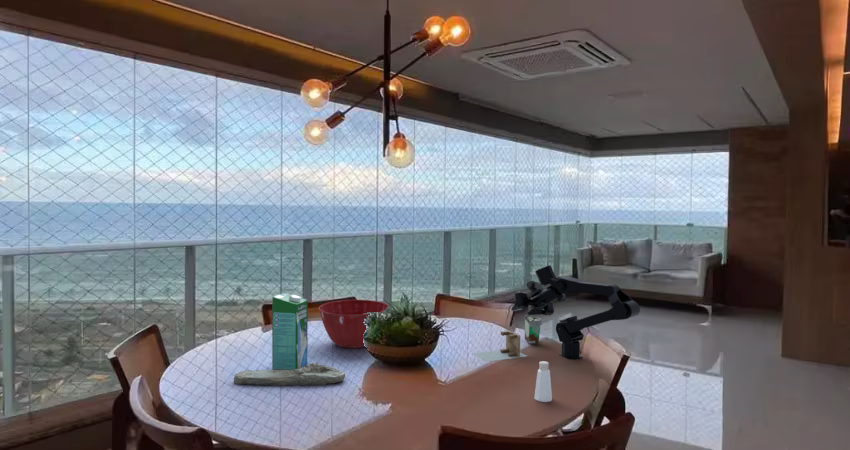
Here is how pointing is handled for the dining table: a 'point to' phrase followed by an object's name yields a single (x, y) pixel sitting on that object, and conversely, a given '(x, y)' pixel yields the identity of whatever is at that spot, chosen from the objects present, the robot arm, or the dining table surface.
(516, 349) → the stool
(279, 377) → the elongated rock
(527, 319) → the food container
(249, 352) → the dining table surface
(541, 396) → the pepper shaker
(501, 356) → the mat
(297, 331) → the milk carton
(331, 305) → the mixing bowl
